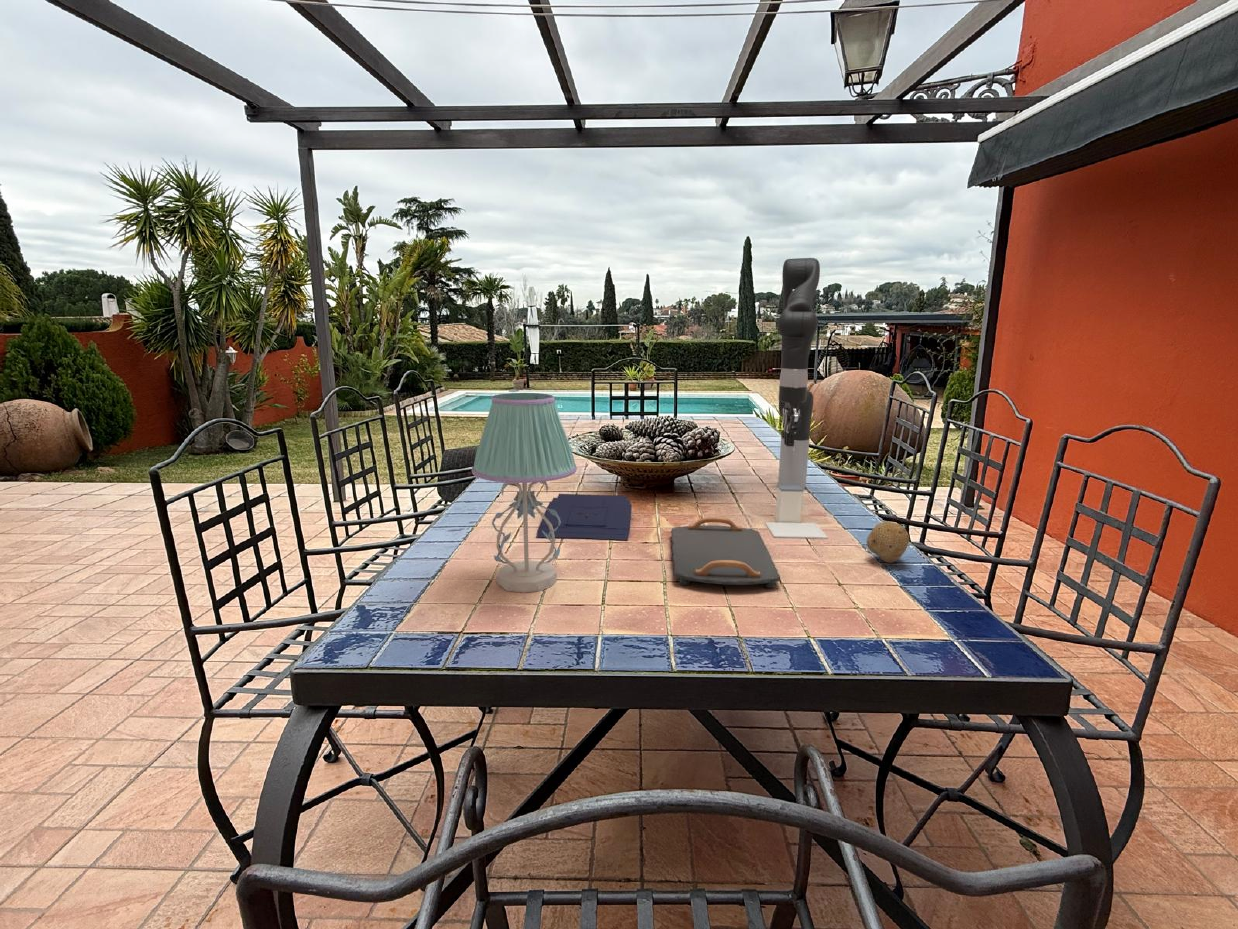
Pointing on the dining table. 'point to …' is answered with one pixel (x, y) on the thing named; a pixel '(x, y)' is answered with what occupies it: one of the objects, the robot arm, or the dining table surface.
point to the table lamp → (524, 474)
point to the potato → (888, 541)
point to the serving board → (721, 555)
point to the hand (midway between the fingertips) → (788, 445)
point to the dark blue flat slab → (589, 517)
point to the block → (789, 503)
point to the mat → (795, 530)
